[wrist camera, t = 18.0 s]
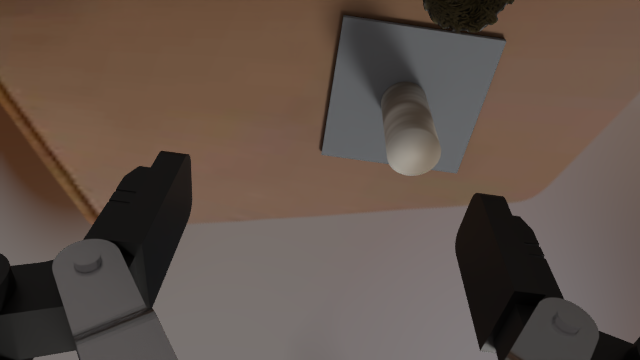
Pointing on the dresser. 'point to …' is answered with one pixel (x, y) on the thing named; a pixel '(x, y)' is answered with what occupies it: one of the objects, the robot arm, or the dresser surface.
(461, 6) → the cup
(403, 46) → the slate mat
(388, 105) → the cream peg
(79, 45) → the dresser surface
